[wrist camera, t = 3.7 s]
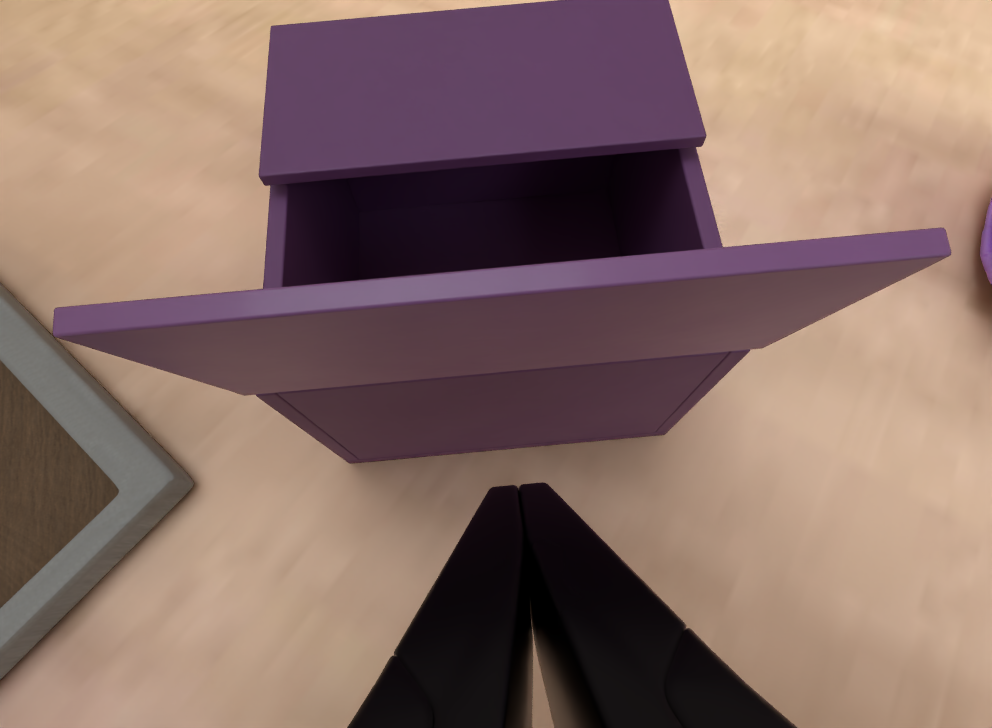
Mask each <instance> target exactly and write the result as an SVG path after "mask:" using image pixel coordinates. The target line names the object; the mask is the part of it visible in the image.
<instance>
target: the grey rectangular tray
mask: <svg viewBox="0 0 992 728" xmlns="http://www.w3.org/2000/svg"><path fill="white" fill-rule="evenodd" d="M193 485H194V482H193V480H192V479H191V477H190V476H189V475H188V474H187V473H186V472H185V471H184V470H183V469H182V468H181V467H180V466H179V465H178V464H177V463H176V462H175V461H174V460H173V459H172V458H171V457H170V455H169V454H168V453H167V452H166V451H165V450H164V449H163V448H162V447H161V446H160V445H159V444H158V443H157V442H156V441H155V440H154V439H153V438H152V437H151V436H150V435H149V434H148V433H147V432H146V431H145V430H144V429H143V428H142V427H141V426H140V425H139V424H138V423H137V422H136V421H135V420H134V419H133V418H132V417H131V416H130V415H129V414H128V413H127V412H126V411H125V410H124V409H123V408H122V407H121V406H120V405H119V404H118V402H117V401H116V400H115V399H114V398H113V397H112V396H111V395H110V394H109V393H108V392H107V391H106V390H105V389H104V388H103V387H102V386H101V385H100V384H99V383H98V382H97V381H96V380H95V379H94V378H93V377H92V376H91V375H90V374H89V373H88V372H87V371H86V370H85V369H84V368H83V367H82V366H81V365H80V364H79V363H78V362H77V361H76V360H75V359H74V358H73V357H72V356H71V355H70V354H69V353H68V352H67V351H66V349H65V348H64V347H63V346H62V345H61V344H60V343H59V342H58V341H57V340H56V339H55V338H54V337H53V336H52V335H51V334H50V333H49V332H48V331H47V330H46V329H45V328H44V327H43V326H42V325H41V324H40V323H39V322H38V321H37V320H36V319H35V318H34V317H33V316H32V315H31V314H30V313H29V312H28V311H27V310H26V309H25V308H24V307H23V306H22V305H21V304H20V303H19V302H18V301H17V300H16V299H15V298H14V296H13V295H12V294H11V293H10V292H9V291H8V290H7V289H6V288H5V287H4V286H3V285H2V284H1V283H0V680H1V679H2V678H3V677H4V676H5V675H6V674H7V673H8V672H9V671H10V670H11V669H12V668H13V667H14V666H15V665H16V664H17V663H18V662H19V661H20V660H21V659H22V658H23V657H24V656H25V655H26V654H27V653H28V652H29V651H30V650H31V649H32V648H33V647H34V646H35V645H36V644H37V643H38V642H39V641H40V640H41V639H42V638H43V637H44V636H45V635H46V634H47V633H48V632H49V631H50V630H51V629H52V628H53V627H54V626H55V625H56V624H57V623H58V622H59V621H60V620H61V619H62V618H63V617H64V616H65V615H66V614H67V613H68V612H69V611H70V610H71V609H72V608H73V607H74V606H75V605H76V604H77V603H78V602H79V601H80V600H81V599H82V598H83V597H84V596H85V595H86V594H87V593H88V592H89V591H90V590H91V589H92V588H93V587H94V586H95V585H96V584H97V583H98V582H99V581H100V580H101V579H102V578H103V577H104V576H105V575H106V574H107V573H108V572H109V571H110V570H111V569H112V568H113V567H114V566H115V565H116V564H117V563H118V562H119V561H120V560H121V559H122V558H123V557H124V556H125V555H126V554H127V553H128V552H129V551H130V550H131V549H132V548H133V547H134V546H135V545H136V544H137V543H138V542H139V541H140V540H141V539H142V538H143V537H144V536H145V535H146V534H147V533H148V532H149V531H150V530H151V529H152V528H153V527H154V526H155V525H156V524H157V523H158V522H159V521H160V520H161V519H162V518H163V517H164V516H165V515H166V514H167V513H168V512H169V511H170V510H171V509H172V508H173V507H174V506H175V505H176V504H177V503H178V502H179V501H180V500H181V499H182V498H183V497H184V496H185V495H186V494H187V493H188V491H189V490H190V489H191V488H192V487H193Z"/></svg>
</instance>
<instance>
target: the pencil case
mask: <svg viewBox="0 0 992 728" xmlns="http://www.w3.org/2000/svg"><path fill="white" fill-rule="evenodd" d="M980 257H981V260H982V264H983V267H984V270H985V271H986V273H987V278H988V280H989V282H990V283H991V285H992V198H991V201H990V203H989V206H988V210H987V215H986V220H985V226H984V230H983V231H982V237H981V247H980Z"/></svg>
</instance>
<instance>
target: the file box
mask: <svg viewBox="0 0 992 728" xmlns="http://www.w3.org/2000/svg"><path fill="white" fill-rule="evenodd" d="M705 138H706V132H705V129H704V125H703V122H702V118H701V115H700V111H699V107H698V104H697V100H696V97H695V93H694V90H693V86H692V83H691V79H690V75H689V72H688V68H687V65H686V61H685V58H684V54H683V50H682V47H681V43H680V40H679V36H678V33H677V29H676V26H675V22H674V18H673V15H672V11H671V8H670V4H669V1H668V0H558V1H546V2H535V3H524V4H513V5H501V6H490V7H479V8H468V9H456V10H445V11H434V12H423V13H411V14H400V15H389V16H378V17H366V18H355V19H344V20H333V21H321V22H310V23H299V24H287V25H276V26H271V31H270V43H269V56H268V68H267V80H266V93H265V105H264V117H263V130H262V142H261V154H260V167H259V177H260V179H261V181H262V182H263V184H264V185H265V186H268V185H270V199H269V213H268V227H267V241H266V255H265V269H264V283H263V289H268V288H279V287H290V286H301V285H312V284H323V283H334V282H345V281H356V280H367V279H378V278H389V277H400V276H412V275H423V274H434V273H445V272H456V271H467V270H478V269H489V268H500V267H511V266H522V265H533V264H544V263H555V262H566V261H577V260H589V259H600V258H611V257H622V256H633V255H644V254H655V253H666V252H677V251H688V250H699V249H710V248H721V247H723V246H722V243H721V239H720V235H719V232H718V228H717V224H716V220H715V217H714V213H713V209H712V206H711V202H710V198H709V194H708V191H707V187H706V183H705V180H704V176H703V172H702V169H701V165H700V161H699V157H698V154H697V150H696V147H701V146H702V145H703V143H704V141H705ZM749 351H750V349H749V350H738V351H727V352H716V353H705V354H694V355H683V356H672V357H661V358H650V359H639V360H628V361H617V362H606V363H595V364H584V365H573V366H562V367H551V368H540V369H529V370H518V371H507V372H496V373H485V374H474V375H464V376H453V377H442V378H431V379H420V380H409V381H398V382H387V383H376V384H365V385H354V386H343V387H332V388H321V389H310V390H299V391H288V392H277V393H266V394H256V396H257V397H258V398H260V399H261V400H263V401H264V402H265V403H267V404H268V405H269V406H271V407H272V408H274V409H275V410H276V411H278V412H279V413H280V414H282V415H283V416H285V417H286V418H287V419H289V420H290V421H292V422H293V423H294V424H296V425H297V426H298V427H300V428H301V429H303V430H304V431H305V432H307V433H308V434H309V435H311V436H312V437H314V438H315V439H316V440H318V441H319V442H321V443H322V444H323V445H325V446H326V447H327V448H329V449H330V450H332V451H333V452H334V453H336V454H337V455H339V456H340V457H341V458H343V459H344V460H346V461H347V462H348V463H361V462H372V461H383V460H394V459H405V458H416V457H427V456H438V455H448V454H459V453H470V452H481V451H492V450H503V449H514V448H525V447H536V446H547V445H558V444H569V443H580V442H591V441H602V440H612V439H623V438H634V437H645V436H656V435H665V434H666V433H667V432H668V431H669V430H670V429H671V428H672V427H673V426H674V425H675V424H676V423H677V422H678V421H679V420H680V419H681V418H682V417H683V416H684V415H685V414H686V413H687V412H688V411H689V410H690V409H691V408H692V407H693V406H694V405H695V404H696V403H697V402H698V401H699V400H700V399H701V398H702V397H704V396H705V395H706V394H707V393H708V392H709V391H710V390H711V389H712V388H713V387H714V386H715V385H716V384H717V383H718V382H719V381H720V380H721V379H722V378H723V377H724V376H725V375H726V374H727V373H728V372H729V371H730V370H731V369H732V368H733V367H734V366H735V365H736V364H737V363H738V362H739V361H740V360H741V359H742V358H743V357H744V356H745V355H746V354H747V353H748V352H749Z"/></svg>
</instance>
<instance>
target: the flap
mask: <svg viewBox="0 0 992 728" xmlns="http://www.w3.org/2000/svg"><path fill="white" fill-rule="evenodd" d="M950 255H951V249H950V246H949V242H948V238H947V234H946V230H945V229H944V228H932V229H920V230H909V231H898V232H887V233H876V234H865V235H854V236H843V237H832V238H821V239H810V240H799V241H788V242H777V243H766V244H755V245H743V246H732V247H721V248H710V249H699V250H688V251H677V252H666V253H655V254H644V255H633V256H622V257H611V258H600V259H589V260H577V261H566V262H555V263H544V264H533V265H522V266H511V267H500V268H489V269H478V270H467V271H456V272H445V273H434V274H423V275H412V276H400V277H389V278H378V279H367V280H356V281H345V282H334V283H323V284H312V285H301V286H290V287H279V288H268V289H257V290H246V291H235V292H223V293H212V294H201V295H190V296H179V297H168V298H157V299H146V300H135V301H124V302H113V303H102V304H91V305H80V306H69V307H58V308H55V310H54V321H53V336H54V337H57V338H60V339H63V340H66V341H70V342H73V343H76V344H79V345H83V346H86V347H89V348H92V349H96V350H99V351H102V352H105V353H109V354H112V355H115V356H118V357H122V358H125V359H128V360H131V361H135V362H138V363H141V364H144V365H148V366H151V367H154V368H157V369H161V370H164V371H167V372H170V373H174V374H177V375H180V376H183V377H187V378H190V379H193V380H196V381H200V382H203V383H206V384H209V385H212V386H216V387H219V388H222V389H225V390H229V391H232V392H235V393H238V394H242V395H255V394H266V393H277V392H288V391H299V390H310V389H321V388H332V387H343V386H354V385H365V384H376V383H387V382H398V381H409V380H420V379H431V378H442V377H453V376H464V375H474V374H485V373H496V372H507V371H518V370H529V369H540V368H551V367H562V366H573V365H584V364H595V363H606V362H617V361H628V360H639V359H650V358H661V357H672V356H683V355H694V354H705V353H716V352H727V351H738V350H749V349H760V348H764V347H766V346H768V345H770V344H772V343H774V342H776V341H778V340H780V339H782V338H784V337H786V336H788V335H790V334H792V333H794V332H796V331H798V330H800V329H802V328H804V327H806V326H808V325H810V324H813V323H815V322H817V321H819V320H821V319H823V318H825V317H827V316H829V315H831V314H833V313H835V312H837V311H839V310H841V309H843V308H845V307H847V306H849V305H851V304H853V303H855V302H857V301H859V300H861V299H863V298H865V297H867V296H869V295H871V294H873V293H875V292H877V291H879V290H882V289H884V288H886V287H888V286H890V285H892V284H894V283H896V282H898V281H900V280H902V279H904V278H906V277H908V276H910V275H912V274H914V273H916V272H918V271H920V270H922V269H924V268H926V267H928V266H930V265H932V264H934V263H936V262H938V261H940V260H942V259H944V258H946V257H948V256H950Z"/></svg>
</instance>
